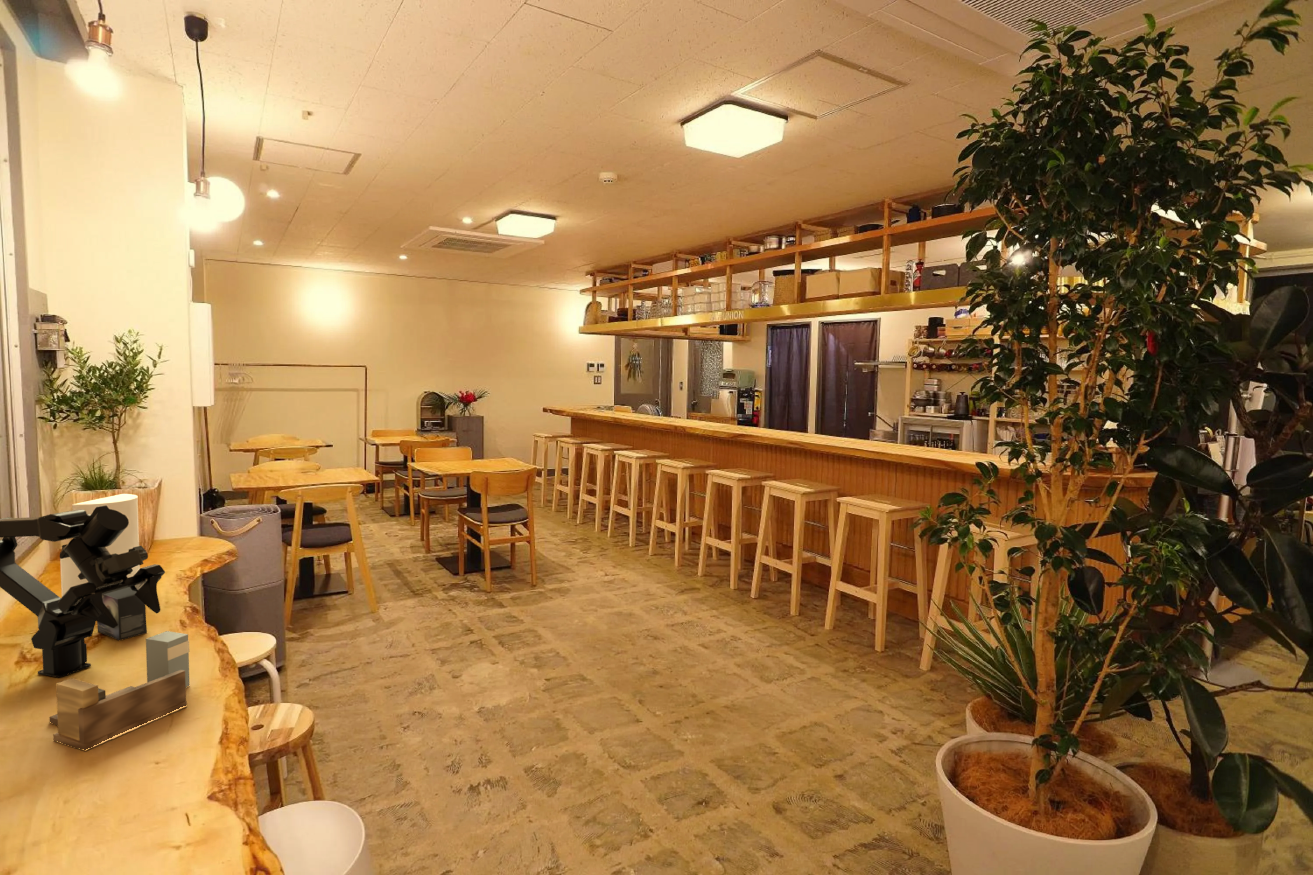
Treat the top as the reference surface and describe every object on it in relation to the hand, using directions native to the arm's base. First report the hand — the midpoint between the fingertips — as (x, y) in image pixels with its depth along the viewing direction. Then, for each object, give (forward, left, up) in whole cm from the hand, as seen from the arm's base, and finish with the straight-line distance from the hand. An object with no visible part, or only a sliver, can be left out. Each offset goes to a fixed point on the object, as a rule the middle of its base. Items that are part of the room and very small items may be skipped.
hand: (138, 619), depth 143 cm
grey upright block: (-1, -8, -13) cm, 16 cm away
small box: (+19, +30, -14) cm, 38 cm away
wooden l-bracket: (-13, -9, -13) cm, 21 cm away
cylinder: (+37, +60, -14) cm, 72 cm away
